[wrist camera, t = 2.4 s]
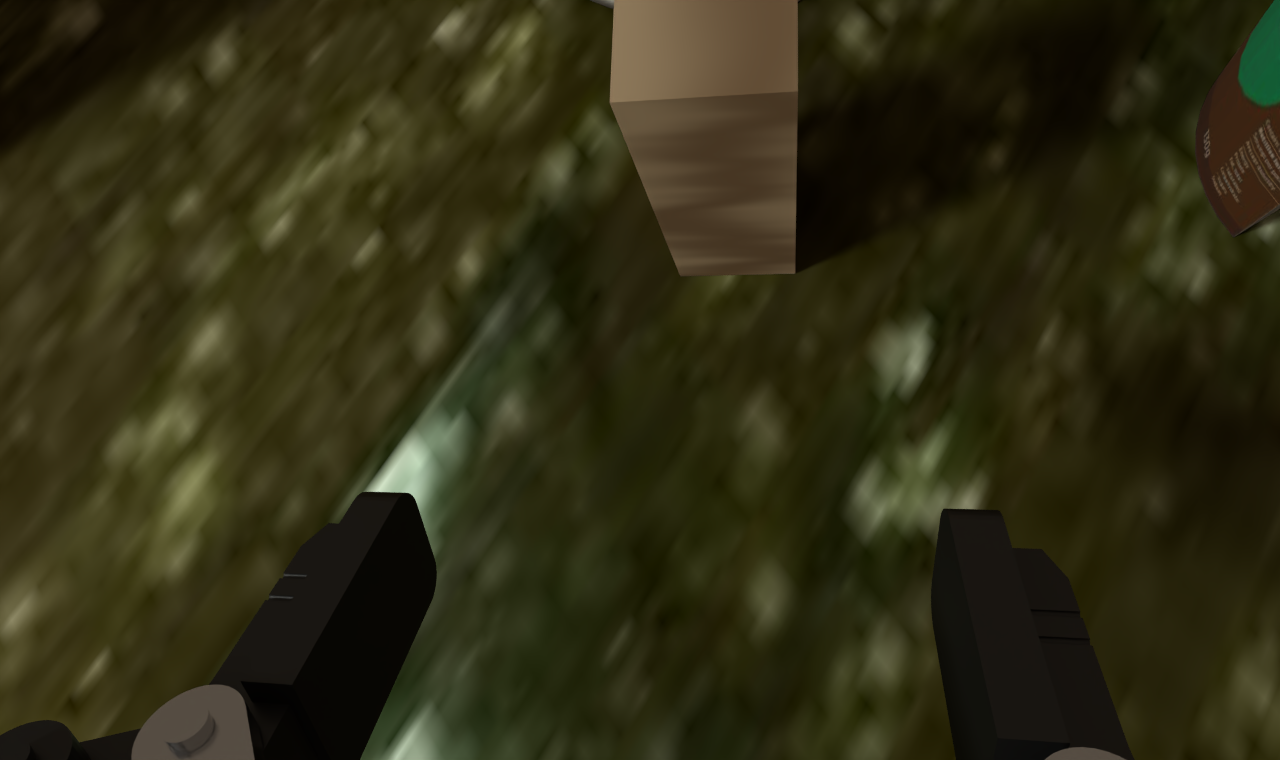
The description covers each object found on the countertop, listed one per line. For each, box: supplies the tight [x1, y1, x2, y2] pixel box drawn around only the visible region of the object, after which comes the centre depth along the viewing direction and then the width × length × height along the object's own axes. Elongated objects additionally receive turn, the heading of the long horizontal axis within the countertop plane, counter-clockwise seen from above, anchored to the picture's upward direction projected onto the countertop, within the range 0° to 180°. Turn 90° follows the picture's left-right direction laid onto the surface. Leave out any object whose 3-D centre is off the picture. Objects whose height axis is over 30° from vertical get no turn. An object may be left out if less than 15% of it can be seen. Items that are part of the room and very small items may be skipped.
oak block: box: [610, 0, 798, 276], centre depth 24 cm, size 4×4×12 cm
